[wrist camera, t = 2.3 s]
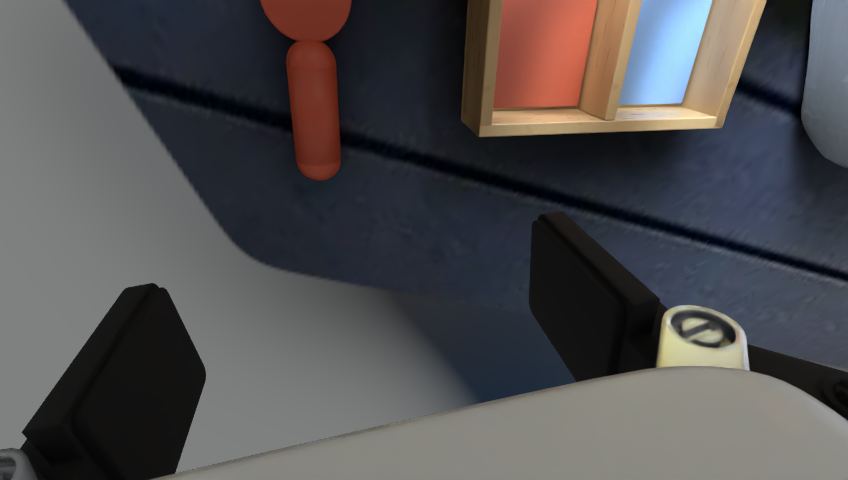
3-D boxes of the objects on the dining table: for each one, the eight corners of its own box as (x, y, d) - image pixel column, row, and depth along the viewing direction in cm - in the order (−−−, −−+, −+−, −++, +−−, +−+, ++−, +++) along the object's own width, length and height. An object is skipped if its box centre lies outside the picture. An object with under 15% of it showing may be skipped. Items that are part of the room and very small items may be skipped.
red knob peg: (255, -62, 18) (246, -70, 16) (348, -55, 18) (350, -61, 17) (283, 172, 23) (279, 188, 21) (356, 170, 23) (358, 185, 21)
